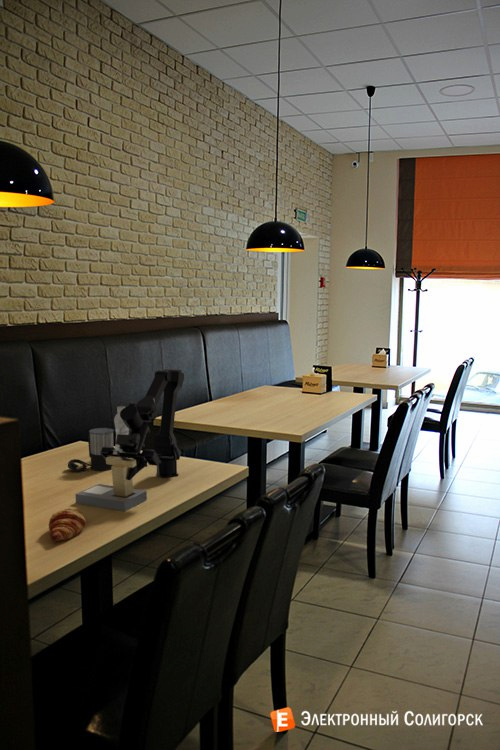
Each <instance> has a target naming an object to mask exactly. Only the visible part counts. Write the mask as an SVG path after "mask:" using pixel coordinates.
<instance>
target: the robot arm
mask: <svg viewBox="0 0 500 750" xmlns="http://www.w3.org/2000/svg"><path fill="white" fill-rule="evenodd" d="M182 371H183V370H181V369H171V368H169V369H168V368H167V369H166V368H164V369H163V370H159V369H158V370H157V371H156V370H155V372H154V377H153V378H152V381H151V384H150V386H149V387H148V389H147V392H146V393H145V395H144V397H142V398H141V399H139V400H138V401H137V403H134V402H133V403H131V402H130V403H129V404H128V405H126V406H125V408H123V409H122V410H121V412H120V417H121V419H122V420H123V422H124V423H125V425H126V426H127V428H129V433H128V435H122V434H117V439H116V438H115V444H116V445H117V444H118V445H120V447H119V448H120V449H122V452H120V451H117V450H116V449H115V446H113V447H108V446H104V447H102V449H101V451H100V454H101V455H102V456H103V458H104V459H105V460H106V458H107V457H108V456H114V457H121V458H128V459H136V466H135V467H133V468H131V470H130V472H129V476H128V480H131V479H132V480H133V478H134V477H135V476H136V475H137V474H138V473H140V472H141V471H142V470H143V469H144V468H147V467H148V465H149V466H156V475H158V476H159V477H160V478H162V479H164V478H171V477H178V476H179V473H178V467H177V465H178V463H177V462H178V461H179V460H180V458H181V450H180V449H179V447H178V444H177V438H176V436H175V434H174V426H175V425H174V424H175V416H176V408H177V407H176V406H177V396H178V393H179V392H180V390H181V389H182V388H183V384H184V381H185V374H184V373H185V372H182ZM162 395H163V399H162V406H161V407H162V408H161V415H160V416H161V418H160V427H159V432H158V433H157V434H155V435H154V437H153V442H152V443H153V444H152V448H151V449H146V448H145V446H146V445H145V440H146V437H147V434H148V433H151V428H150V427H149V424H148V423H147V422H149V423H151V422H152V423H153V422H154V421H155V420H156V419H157V416H158V412H159V409H158V404H159V401H160V399H161V397H162ZM143 448H145V449H143Z"/></svg>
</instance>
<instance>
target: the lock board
mask: <svg viewBox="0 0 500 750" xmlns="http://www.w3.org/2000/svg"><path fill="white" fill-rule="evenodd" d="M133 492H134V495H132V496H130V497H128V498H121V497H115V496H114V490H113V485H109V484H108V485H107V484H102V483H98V484H96V485H93V486H92V487H91V486H90V487H88V488H86V489H84V490H82V491H79V492H77V493H75V504H79V505H85V506H90V507H97V508H102V509H108V510H115V511H120V512H127V511H128V510H130V509H132V508H134V507H136V506H137V505H140V504H142V503H143V502H145V501H147V500H148V497H147V492H148V491H146V490H141V489H135V488H133Z"/></svg>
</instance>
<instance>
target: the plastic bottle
mask: <svg viewBox="0 0 500 750" xmlns="http://www.w3.org/2000/svg"><path fill="white" fill-rule="evenodd" d="M125 407H126V406H125V405H124V406H123V405H120V406H117V408H116V409H117V410H116V412H117V413H116V414H115V416H114V419H113V422H114V427H115V440H116V439H117V434H122V435H128V433H129V431H130V429H129V428H127V426H126V425H125V423H124V422H123V420H122V419H121V417H120V412H121V410H122V409H123V408H125ZM119 447H120V445H118V444H117V445H116V443H115V446H114V448H115V449H116V450H117V451H120V452H122V449H120V448H119Z"/></svg>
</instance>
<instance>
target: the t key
mask: <svg viewBox="0 0 500 750" xmlns="http://www.w3.org/2000/svg"><path fill="white" fill-rule="evenodd" d="M106 464H110V465H113V466H111V468H112V469H111V479H112V486H113V490H114V496H115V497H121V498H128V497H130V496H132V495H134V492H133V489H134V482H133V478H132V479H131V480H128V476H129V472H130V470H131V468H133V467H135V466H136V459H131V458H121V457H114V456H108V457H107V458H106Z"/></svg>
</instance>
